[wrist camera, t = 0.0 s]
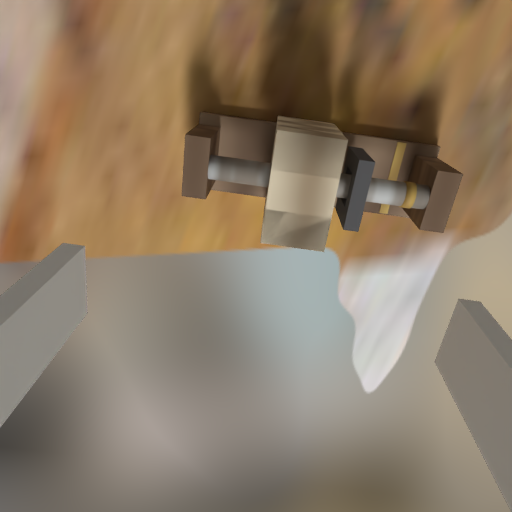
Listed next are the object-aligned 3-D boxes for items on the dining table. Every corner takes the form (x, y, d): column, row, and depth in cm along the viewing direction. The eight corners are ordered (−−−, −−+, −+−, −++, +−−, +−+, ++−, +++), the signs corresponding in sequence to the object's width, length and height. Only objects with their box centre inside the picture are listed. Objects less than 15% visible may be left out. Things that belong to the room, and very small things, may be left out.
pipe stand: (196, 185, 42) (180, 207, 36) (201, 111, 39) (185, 121, 33) (415, 216, 43) (439, 244, 36) (437, 145, 40) (467, 161, 33)
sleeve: (264, 208, 41) (260, 242, 33) (277, 115, 38) (276, 130, 30) (315, 215, 41) (324, 251, 33) (334, 123, 38) (348, 140, 30)
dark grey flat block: (335, 207, 39) (343, 229, 34) (348, 146, 37) (359, 159, 32) (348, 209, 39) (358, 231, 34) (362, 148, 37) (375, 162, 32)
